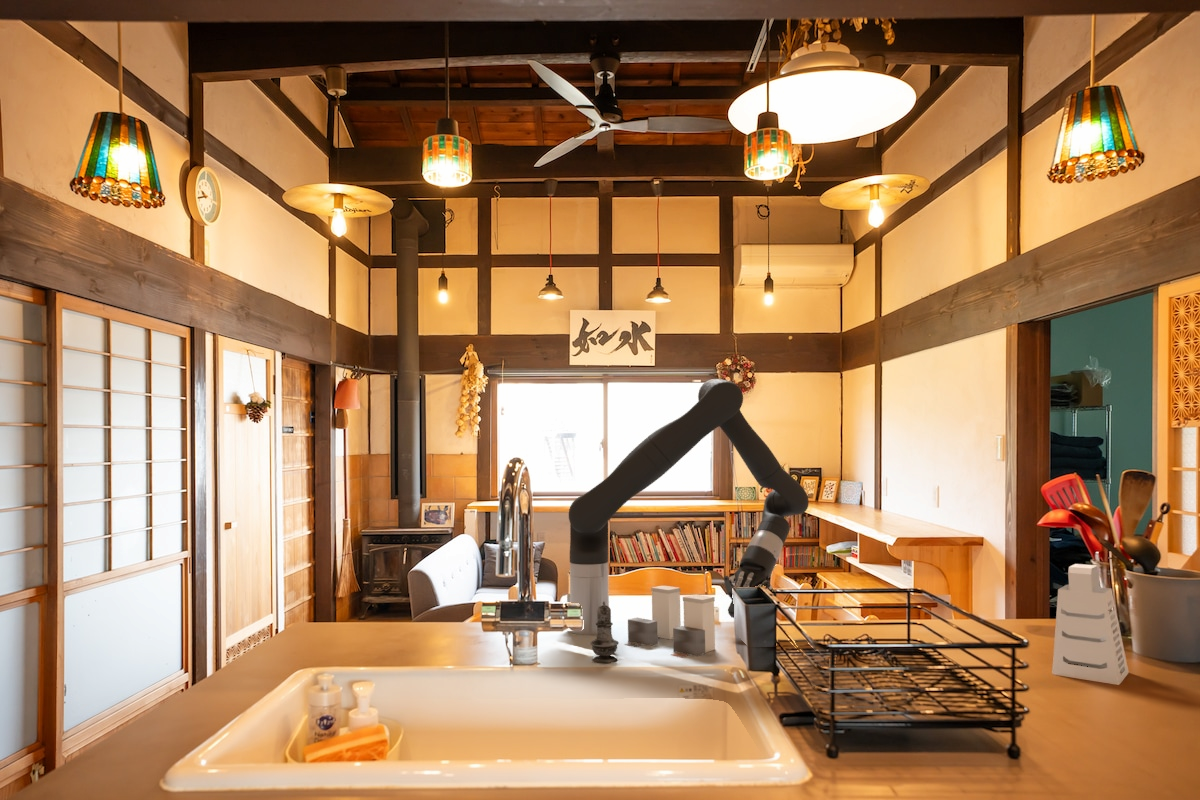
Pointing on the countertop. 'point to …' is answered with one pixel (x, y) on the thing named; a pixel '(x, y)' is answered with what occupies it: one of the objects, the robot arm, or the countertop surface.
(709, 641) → the tall white box
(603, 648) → the salt shaker
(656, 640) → the dark grey rectangular blocks
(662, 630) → the tall cream pillar
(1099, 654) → the grater
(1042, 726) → the countertop surface
